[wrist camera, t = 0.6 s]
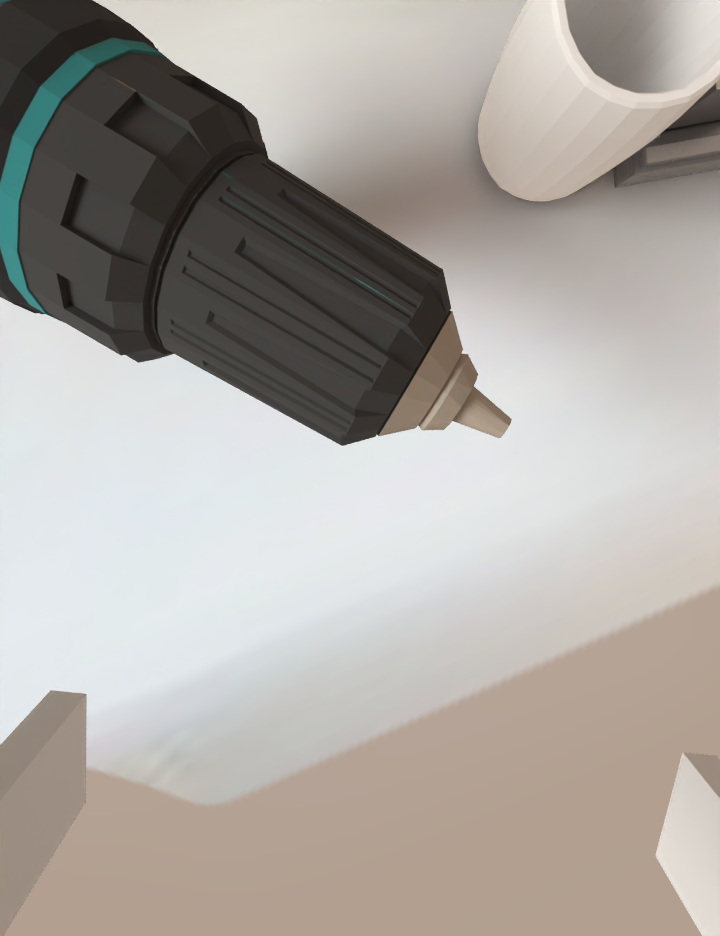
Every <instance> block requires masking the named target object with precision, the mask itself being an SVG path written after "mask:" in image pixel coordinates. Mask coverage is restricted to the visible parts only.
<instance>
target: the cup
mask: <svg viewBox="0 0 720 936" xmlns="http://www.w3.org/2000/svg"><path fill="white" fill-rule="evenodd" d="M719 79H720V0H527V1H526V3H525V5H524V7H523V9H522V10H521V12H520V14H519V16H518V18H517V20H516V22H515V25H514V27H513V29H512V31H511V33H510V36H509V38H508V40H507V42H506V44H505V47H504V49H503V52H502V54H501V57H500V59H499V61H498V64H497V66H496V69H495V72H494V74H493V77H492V80H491V83H490V85H489V88H488V91H487V94H486V97H485V101H484V104H483V107H482V110H481V113H480V116H479V120H478V142H479V147H480V152H481V157H482V160H483V162H484V164H485V166H486V168H487V170H488V172H489V174H490V176H491V177H492V178H493V179H494V181H495V182H496V183H497V184H498V185H499V187H500V188H501V189H503V190H505V191H507V192H508V193H510V194H512V195H513V196H515V197H519V198H522V199H525V200H529V201H551V200H555V199H559V198H563V197H566V196H568V195H570V194H572V193H574V192H576V191H577V190H579V189H581V188H582V187H584V186H586V185H587V184H589V183H591V182H592V181H594V180H595V179H597V178H598V177H600V176H601V175H603V174H605V173H606V172H608V171H609V170H611V169H612V168H614V167H615V166H617V165H618V164H620V163H621V162H623V161H624V160H626V159H627V158H629V157H630V156H631V155H633V154H634V153H636V152H637V151H638V150H640V149H641V148H643V147H644V146H645V145H647V144H648V143H649V142H651V141H652V140H653V139H655V138H656V137H657V136H658V135H659V134H661V133H662V132H663V131H664V130H665V129H667V128H668V127H669V126H670V125H671V124H673V123H674V122H675V121H676V120H677V119H678V118H680V117H681V116H682V115H683V114H684V113H685V112H686V111H687V110H688V109H689V108H690V107H691V106H692V105H693V104H694V103H695V102H696V101H697V100H699V99H700V98H701V97H702V96H703V95H704V94H705V93H706V92H707V91H708V90H709V89H710V88H711V87H712V86H713V85H714V84H715V83H716V82H717V81H718V80H719Z"/></svg>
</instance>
